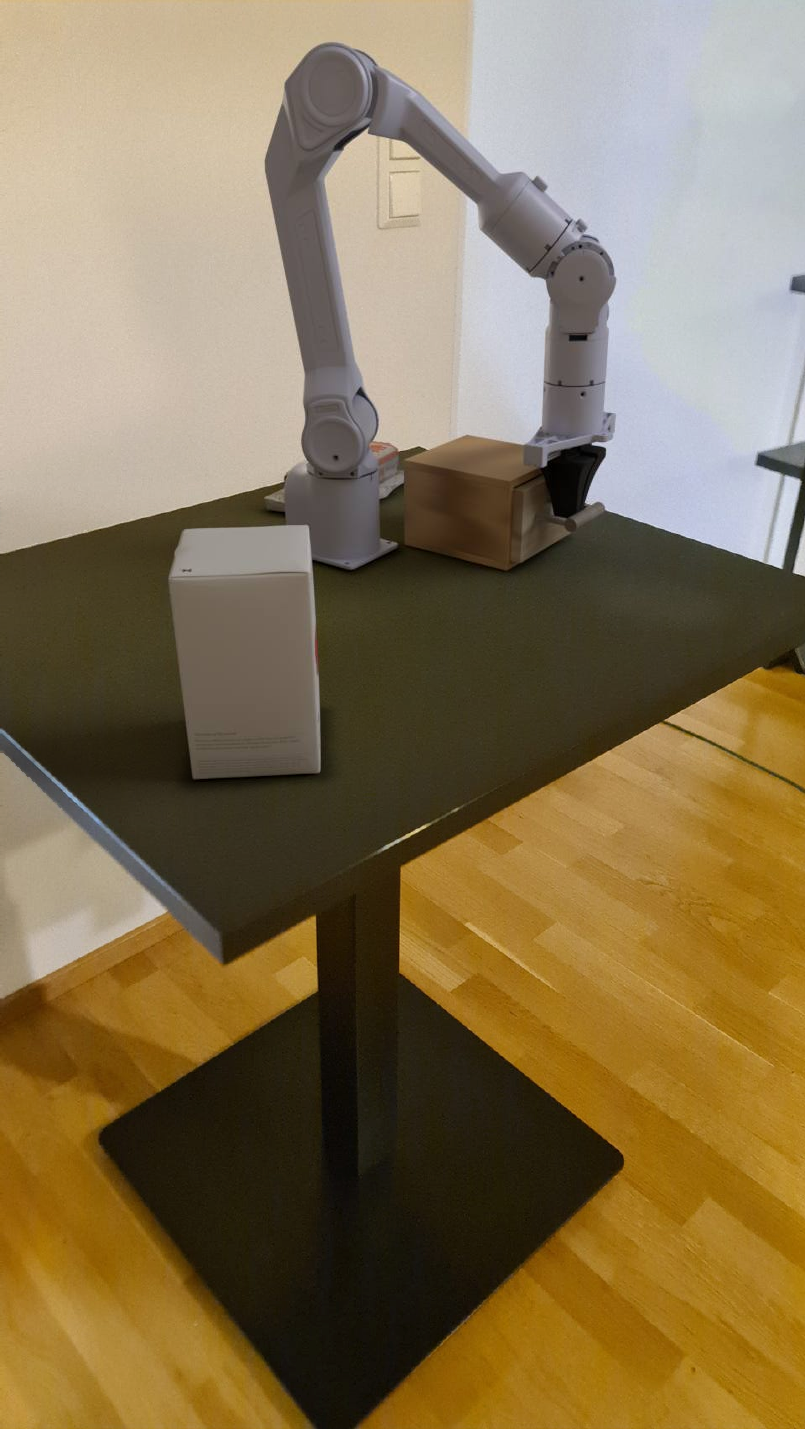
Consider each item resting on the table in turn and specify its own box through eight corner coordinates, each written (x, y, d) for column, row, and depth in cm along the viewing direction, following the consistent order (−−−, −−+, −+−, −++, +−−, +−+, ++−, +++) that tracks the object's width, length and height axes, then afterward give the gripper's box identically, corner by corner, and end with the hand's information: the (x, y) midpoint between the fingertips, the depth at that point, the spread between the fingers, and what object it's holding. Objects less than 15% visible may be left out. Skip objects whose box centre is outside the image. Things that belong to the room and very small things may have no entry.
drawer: (611, 542, 105) (618, 473, 102) (562, 574, 98) (568, 500, 95) (479, 512, 114) (481, 447, 110) (425, 539, 107) (425, 470, 103)
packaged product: (345, 432, 129) (414, 442, 124) (346, 470, 131) (414, 481, 127) (260, 470, 115) (335, 482, 111) (263, 511, 117) (337, 525, 113)
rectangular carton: (323, 776, 70) (312, 571, 62) (191, 783, 69) (163, 577, 62) (321, 710, 78) (311, 521, 70) (202, 715, 77) (179, 526, 70)
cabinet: (563, 537, 109) (569, 453, 105) (506, 571, 101) (510, 481, 97) (464, 514, 116) (466, 434, 111) (404, 544, 108) (403, 459, 103)
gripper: (575, 401, 88) (567, 550, 95) (648, 370, 98) (636, 507, 105) (505, 392, 92) (502, 536, 98) (582, 363, 102) (575, 496, 108)
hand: (567, 521), depth 102 cm, fingers closed, pressing on drawer
